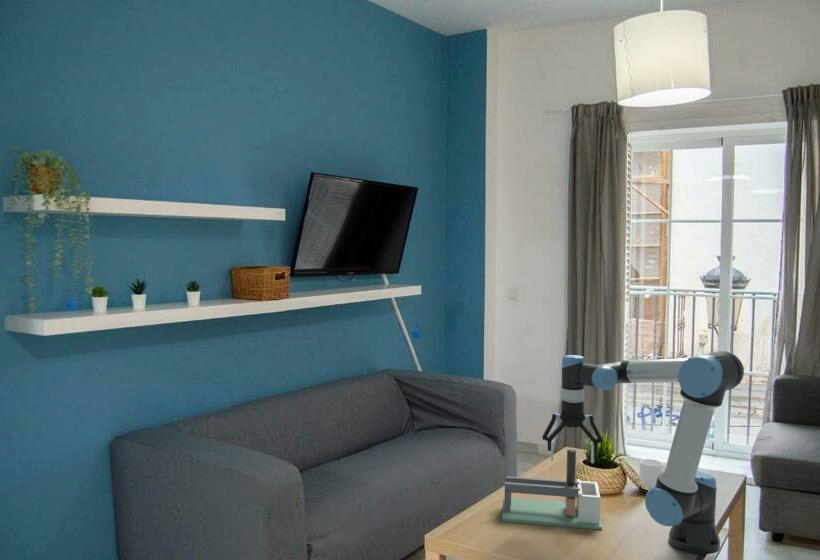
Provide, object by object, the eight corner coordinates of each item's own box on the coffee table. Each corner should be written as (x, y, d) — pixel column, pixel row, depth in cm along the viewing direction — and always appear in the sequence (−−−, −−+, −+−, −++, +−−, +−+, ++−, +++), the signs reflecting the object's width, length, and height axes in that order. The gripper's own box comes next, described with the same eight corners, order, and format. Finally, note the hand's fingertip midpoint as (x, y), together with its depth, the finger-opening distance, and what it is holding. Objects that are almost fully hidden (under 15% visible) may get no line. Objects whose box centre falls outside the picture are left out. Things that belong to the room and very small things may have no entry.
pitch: (601, 529, 236) (602, 497, 235) (501, 521, 242) (502, 489, 241) (597, 507, 255) (598, 477, 255) (505, 499, 261) (505, 470, 261)
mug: (657, 482, 282) (658, 456, 281) (673, 488, 274) (674, 462, 274) (634, 486, 277) (635, 460, 276) (650, 493, 269) (651, 467, 268)
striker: (575, 515, 242) (576, 455, 241) (566, 515, 243) (567, 454, 241) (573, 504, 252) (575, 446, 250) (565, 504, 252) (566, 446, 251)
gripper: (609, 399, 246) (608, 459, 247) (536, 396, 251) (535, 455, 252) (611, 404, 239) (610, 466, 240) (535, 401, 243) (535, 462, 244)
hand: (572, 461), depth 246 cm, fingers open, 13 cm apart
